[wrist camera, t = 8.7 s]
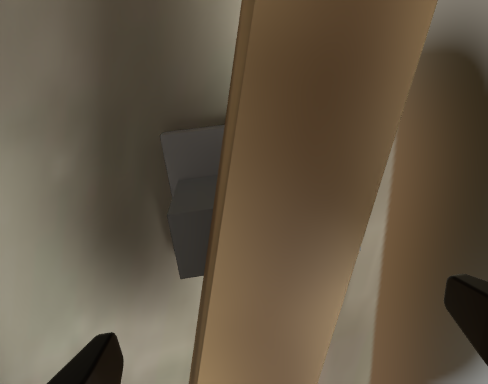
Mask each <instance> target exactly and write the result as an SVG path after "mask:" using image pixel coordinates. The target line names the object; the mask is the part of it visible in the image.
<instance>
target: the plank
mask: <svg viewBox="0 0 488 384" xmlns="http://www.w3.org/2000/svg"><path fill="white" fill-rule="evenodd" d="M437 1H438V0H242V3H241V10H240V18H239V25H238V32H237V39H236V47H235V54H234V61H233V68H232V75H231V83H230V90H229V97H228V104H227V112H226V119H225V126H224V133H223V140H222V148H221V155H220V162H219V169H218V177H217V184H216V191H215V198H214V205H213V213H212V220H211V227H210V234H209V242H208V249H207V256H206V263H205V270H204V278H203V285H202V292H201V299H200V307H199V314H198V321H197V328H196V335H195V343H194V350H193V357H192V364H191V372H190V379H189V384H317V383H318V380H319V377H320V374H321V371H322V367H323V364H324V361H325V358H326V355H327V351H328V348H329V345H330V342H331V339H332V336H333V332H334V329H335V326H336V323H337V320H338V316H339V313H340V310H341V307H342V304H343V301H344V297H345V294H346V291H347V288H348V285H349V281H350V278H351V275H352V272H353V269H354V266H355V262H356V259H357V256H358V253H359V250H360V246H361V243H362V240H363V237H364V234H365V231H366V227H367V224H368V221H369V218H370V215H371V211H372V208H373V205H374V202H375V199H376V196H377V192H378V189H379V186H380V183H381V180H382V176H383V173H384V170H385V167H386V164H387V160H388V157H389V154H390V151H391V148H392V145H393V141H394V138H395V135H396V132H397V129H398V125H399V122H400V119H401V116H402V113H403V110H404V106H405V103H406V100H407V97H408V94H409V90H410V87H411V84H412V81H413V78H414V75H415V71H416V68H417V65H418V62H419V59H420V55H421V52H422V49H423V46H424V42H425V40H426V36H427V33H428V30H429V27H430V24H431V20H432V17H433V14H434V11H435V8H436V5H437Z"/></svg>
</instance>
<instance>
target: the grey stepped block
mask: <svg viewBox="0 0 488 384" xmlns="http://www.w3.org/2000/svg"><path fill="white" fill-rule="evenodd" d="M224 126H225V125H218V126H210V127H202V128H194V129H186V130H178V131H169V132H163V133H162V134H161V135H160V139H161V144H162V149H163V154H164V159H165V164H166V169H167V174H168V179H169V184H170V189H171V193H172V201H171V204H170V207H169V210H168V213H167V218H168V223H169V227H170V232H171V237H172V241H173V246H174V251H175V256H176V260H177V265H178V270H179V275H180V279H185V278H191V277H197V276H204V270H205V263H206V256H207V249H208V242H209V234H210V227H211V220H212V213H213V205H214V198H215V191H216V184H217V177H218V169H219V162H220V155H221V148H222V140H223V133H224ZM359 251H361V246H360V250H359Z"/></svg>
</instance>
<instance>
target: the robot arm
mask: <svg viewBox="0 0 488 384" xmlns="http://www.w3.org/2000/svg"><path fill="white" fill-rule="evenodd" d="M444 304H445V307H446V309H447V310H448V312H449V313H450V315H451V316H452V317H453V319H454V320H455V321H456V323H457V324H458V326H459V327H460V329H461V330H462V331H463V333H464V334H465V335H466V337H467V338H468V340H469V341H470V343H471V344H472V345H473V347H474V348H475V350H476V351H477V352H478V354H479V355H480V356H481V358H482V359H483V360H484V362H485V363H486V364H487V366H488V282H487V281H484V280H481V279H478V278H476V277H472V276H470V275H467V274H459V275H453V276H450V277H449V278H448V279H447V282H446V289H445V297H444ZM122 371H123V355H122V352H121V348H120V345H119V342H118V339H117V336H116V335H115V333H112V332H111V333H105V334H99V335H97V336H96V337H94V338H93V339H92V340H91V341H90V342H89V343H88V344H87V345H86V346H85V347H84V348H83V349H82V350H81V351H80V352H79V353H78V354H77V355H76V356H75V357H74V358H73V359H72V360H71V361H70V362H69V363H68V364H66V365H65V366H64V367H63V368H62V369H61V370H60V371H59V372H58V373H57V374H56V375H55V376H54V377H53V378H52V379H51V380H50V381H49V382H48V383H47V384H121V377H122Z"/></svg>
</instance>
